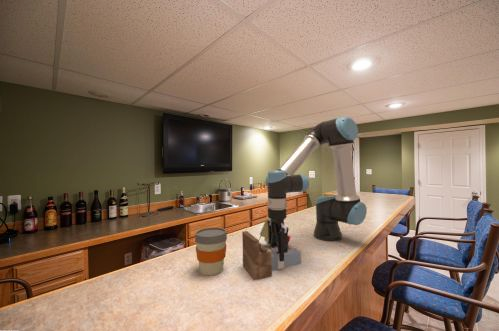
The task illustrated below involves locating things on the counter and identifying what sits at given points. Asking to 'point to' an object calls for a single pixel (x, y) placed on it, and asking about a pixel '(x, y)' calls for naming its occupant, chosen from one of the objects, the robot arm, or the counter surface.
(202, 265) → the reusable coffee cup
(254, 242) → the wooden bracket with knobs
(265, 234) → the mechanical component
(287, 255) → the rail
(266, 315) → the counter surface
